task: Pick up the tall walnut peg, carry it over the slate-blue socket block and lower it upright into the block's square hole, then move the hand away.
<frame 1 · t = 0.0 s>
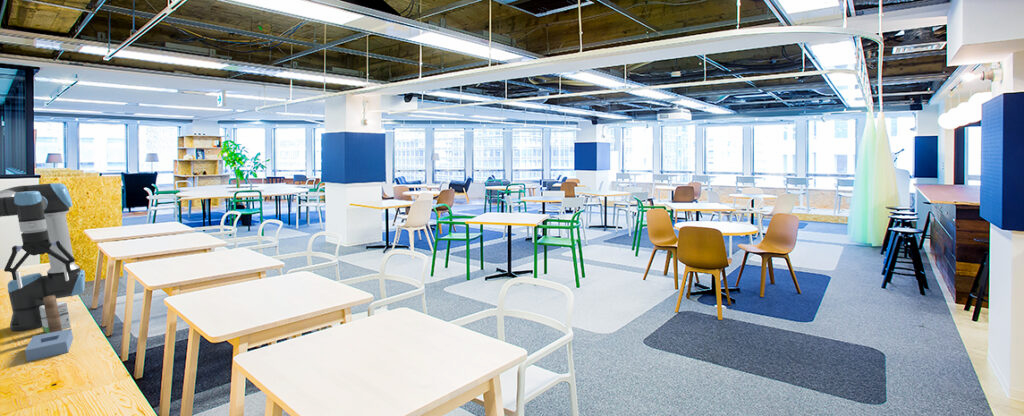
hand: (44, 284, 196), 28 cm above the table, tool pointing down, fingers open, 13 cm apart
peg: (56, 336, 216), on the table
ink box: (57, 329, 225), on the table
socket block: (51, 349, 203), on the table
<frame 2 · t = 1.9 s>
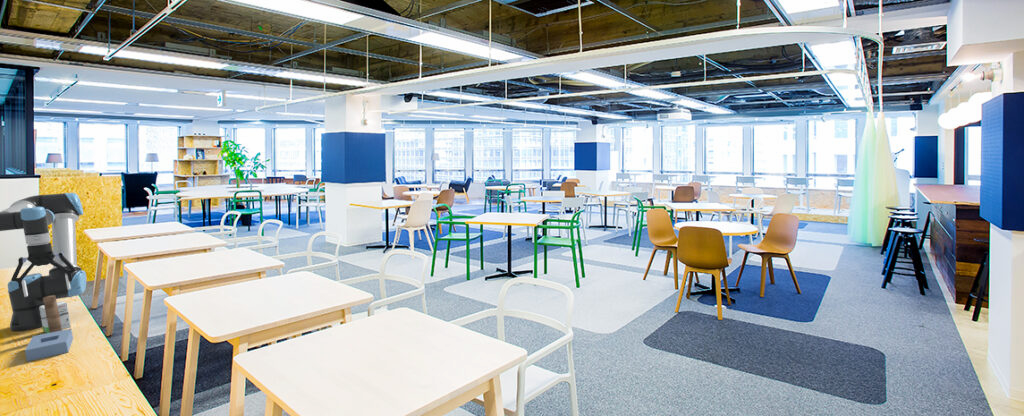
hand: (48, 292, 213), 20 cm above the table, tool pointing down, fingers open, 13 cm apart
nothing on the table moved.
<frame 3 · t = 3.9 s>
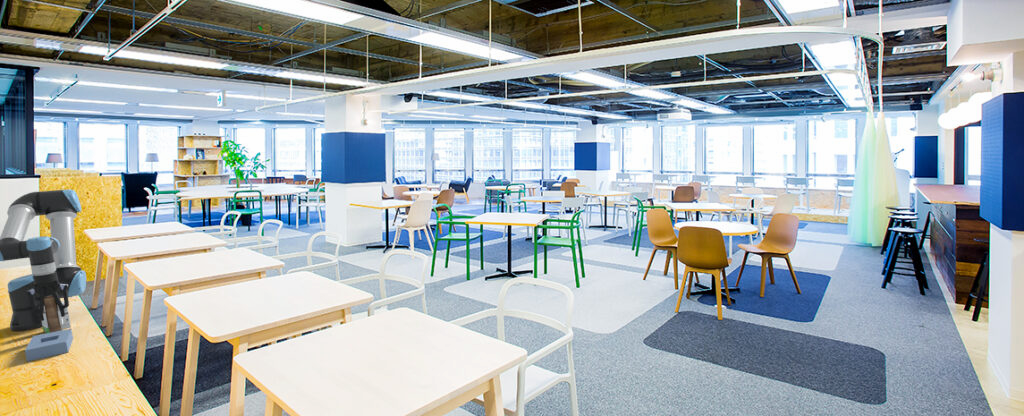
hand: (54, 325, 215), 5 cm above the table, tool pointing down, fingers closed on peg, 4 cm apart
peg: (56, 336, 216), on the table, touching gripper
everything else where it was.
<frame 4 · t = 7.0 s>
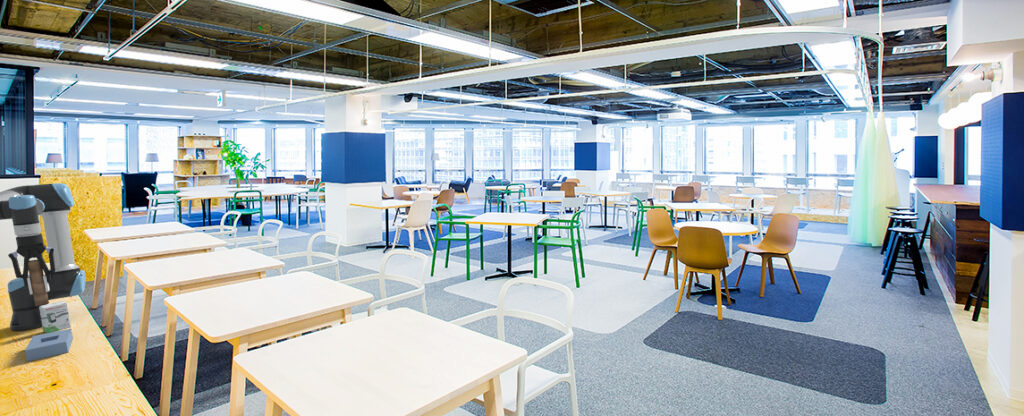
hand: (39, 292, 199), 24 cm above the table, tool pointing down, fingers closed on peg, 4 cm apart
peg: (42, 304, 199), point 19 cm above the table, touching gripper
everything else where it was.
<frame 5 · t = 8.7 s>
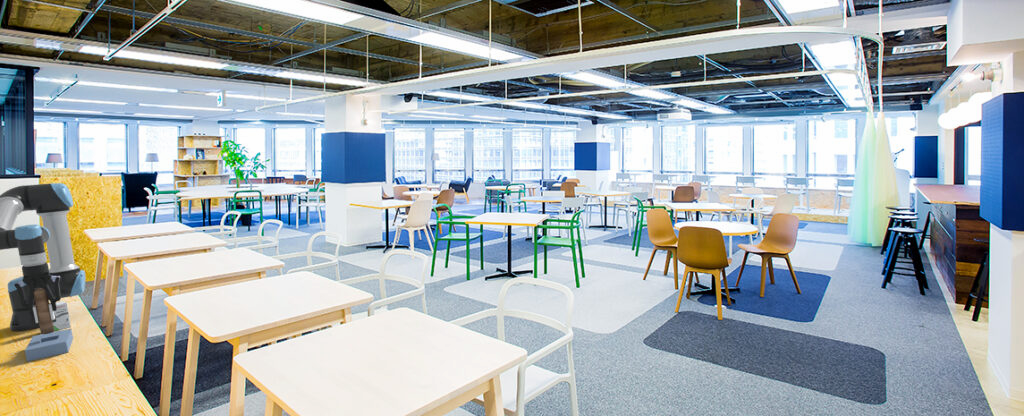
hand: (45, 320, 201), 12 cm above the table, tool pointing down, fingers closed on peg, 4 cm apart
peg: (47, 332, 201), point 7 cm above the table, touching gripper
everything else where it was.
when the fingers open (7 cm above the table, at t = 10.1 s): peg drops 1 cm, resting in socket block.
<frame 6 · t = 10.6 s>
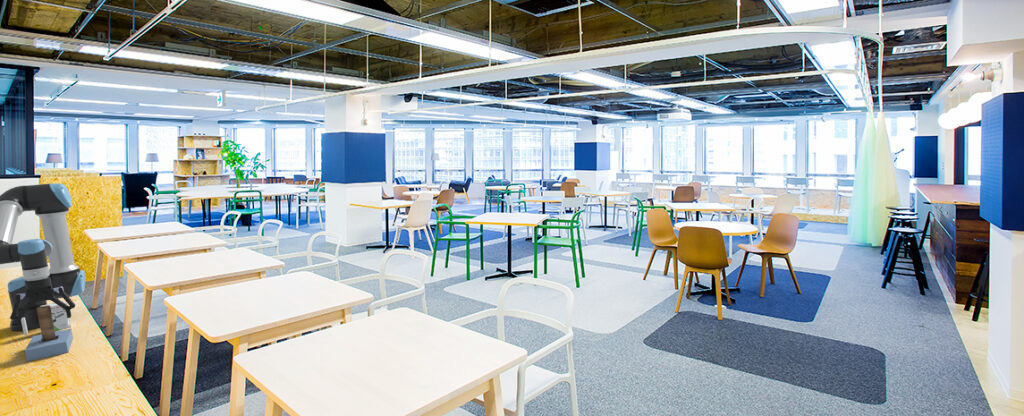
hand: (47, 330, 201), 8 cm above the table, tool pointing down, fingers open, 12 cm apart
peg: (51, 349, 203), resting in socket block
everything else where it was.
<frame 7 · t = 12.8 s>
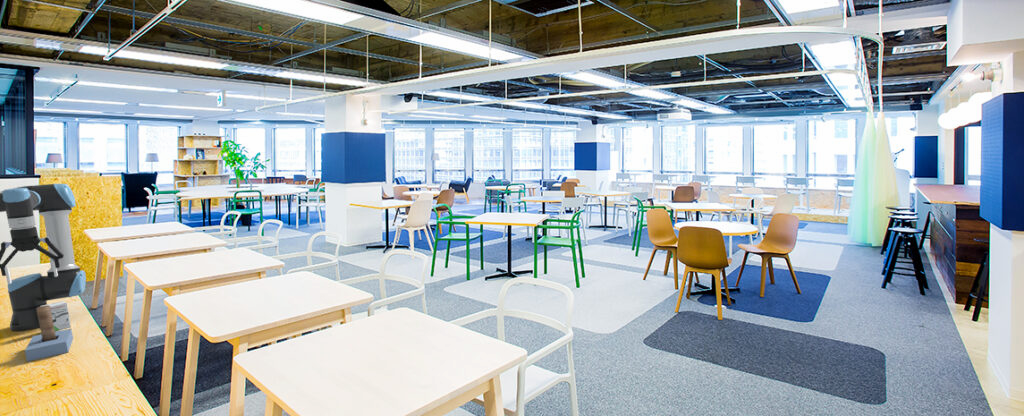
hand: (33, 279, 199), 29 cm above the table, tool pointing down, fingers open, 13 cm apart
nothing on the table moved.
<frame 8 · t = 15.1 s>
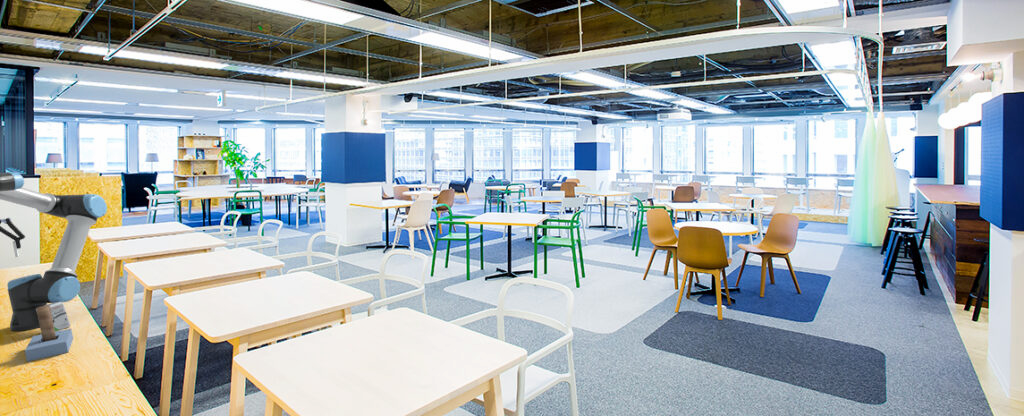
ink box: (57, 329, 225), on the table, touching arm
everything else where it was.
at the end: peg 0.0 cm off-centre on the socket block, point 0.0 cm above the socket block's base; peg tilted 0°; the gripper is holding nothing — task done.
